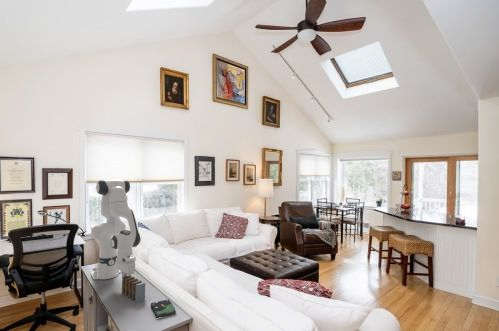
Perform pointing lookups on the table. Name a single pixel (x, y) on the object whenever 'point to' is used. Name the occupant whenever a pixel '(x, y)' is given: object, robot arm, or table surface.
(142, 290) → the end domino
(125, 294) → the domino
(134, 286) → the domino
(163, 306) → the disk drive
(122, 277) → the domino
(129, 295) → the domino
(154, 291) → the table surface
